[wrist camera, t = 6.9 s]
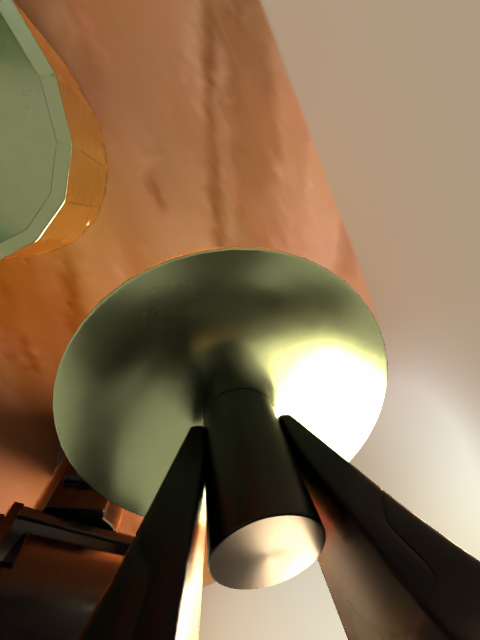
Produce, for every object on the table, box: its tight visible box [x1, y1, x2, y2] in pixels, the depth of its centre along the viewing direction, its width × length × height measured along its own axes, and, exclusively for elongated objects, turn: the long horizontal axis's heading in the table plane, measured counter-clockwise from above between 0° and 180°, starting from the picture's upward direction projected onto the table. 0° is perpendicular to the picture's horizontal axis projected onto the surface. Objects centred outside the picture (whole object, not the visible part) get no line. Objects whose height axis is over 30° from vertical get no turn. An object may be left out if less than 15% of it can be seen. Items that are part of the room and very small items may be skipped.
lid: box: [53, 246, 388, 589], centre depth 7 cm, size 12×12×5 cm
